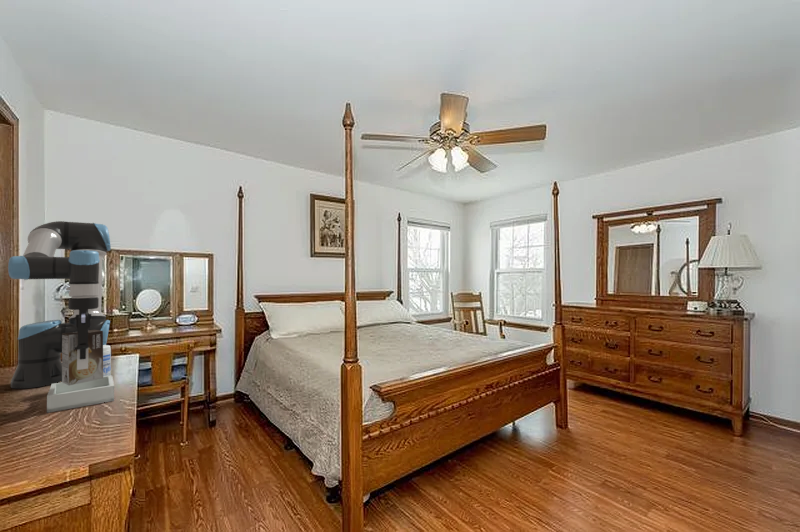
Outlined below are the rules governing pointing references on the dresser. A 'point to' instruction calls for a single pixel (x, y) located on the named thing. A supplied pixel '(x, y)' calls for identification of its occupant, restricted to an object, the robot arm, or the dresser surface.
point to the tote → (80, 394)
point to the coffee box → (70, 358)
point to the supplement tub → (106, 360)
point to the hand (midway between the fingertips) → (82, 366)
